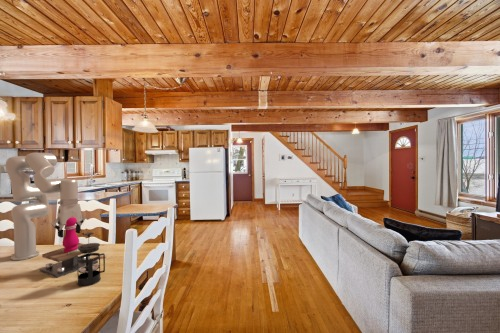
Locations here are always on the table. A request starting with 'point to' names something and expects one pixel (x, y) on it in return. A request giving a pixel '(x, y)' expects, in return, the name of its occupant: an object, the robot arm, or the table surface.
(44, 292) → the table surface
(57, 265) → the board stand
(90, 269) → the french press
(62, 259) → the board
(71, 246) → the pepper mill
